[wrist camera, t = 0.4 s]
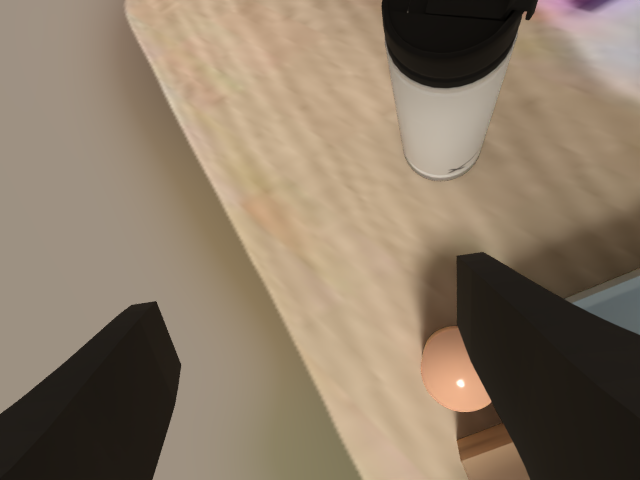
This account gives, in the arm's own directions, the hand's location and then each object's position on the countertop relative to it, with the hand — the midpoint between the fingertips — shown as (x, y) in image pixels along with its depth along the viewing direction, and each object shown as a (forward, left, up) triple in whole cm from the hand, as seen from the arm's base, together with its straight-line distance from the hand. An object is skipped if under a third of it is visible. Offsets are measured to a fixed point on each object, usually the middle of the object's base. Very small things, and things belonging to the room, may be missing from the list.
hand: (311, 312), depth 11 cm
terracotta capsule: (-5, -3, -27) cm, 28 cm away
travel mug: (+11, -9, -27) cm, 31 cm away
